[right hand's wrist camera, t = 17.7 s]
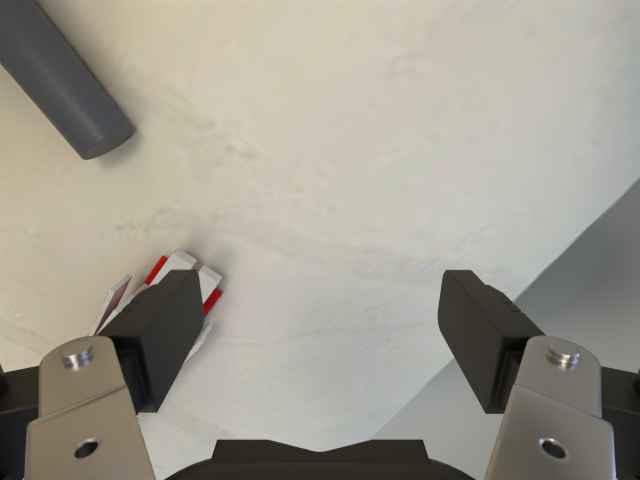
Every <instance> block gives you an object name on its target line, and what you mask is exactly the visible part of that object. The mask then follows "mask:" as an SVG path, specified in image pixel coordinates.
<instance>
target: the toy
mask: <svg viewBox="0 0 640 480" xmlns="http://www.w3.org/2000/svg"><path fill="white" fill-rule="evenodd" d="M196 262H197V260H196V259H195V258H193V257H192V256H190V255H189V254H187V253H186V252H184V251H183V250H181V249H179V248H178V249H177V250H175V251H174V252H173V253H172V254H171V256H170V257H169V259H168V258H166V257H164V256H162V257H161V259H160V260H159V261H158V263H157V264H156V266H155V267H154V269H153V270H152V272H151V273H150V275H149V276H148V277H147V279H146V280H145V282H144V283H143V285H142V286H141V287H139V288H138V289H137V290H136V291H135V292H134V293H133V294H131V295H130V296H129V297H128V298H127V299H126V300H125V301H123V302H122V303H121V304H120V305H119V306H118V307H117V305H118V303H119V301H120V299H121V297H122V295H123V293H124V291H125V289H126V287H127V285H128V283H129V281H130V280H131V278H132V276H130V275H127V276H126V277H124V278H123V279H122V280H121V281H120V282H119V283H118V284H116V285H115V286H114V287H113V288H112V289H111V290H110V291H109V293H108V295H107V297H106V299H105V301H104V303H103V305H102V308H101V310H100V312H99V314H98V316H97V318H96V320H95V322H94V324H93V326H92V328H91V330H90V332H89V334H88V336H96V335H97V334H98V333H99V332H100V331H101V330H102V329H103V328H104V327H105V326H106V325H107V324H108V323H109V322H110V321H111V320H112V319H113V318H114V317H115V316H116V315H117V314H118V313H119V312H122V309H123V308H124V307H125V306H126V305H127V304H130V301H131V300H132V299H133V298H134V297H135V296H136V295H137V294H138V293H139V292H141V291H143V290H144V289H146V288H148V287H150V286H152V285H153V284H158V283H159V282H160V281H161V279H162V278H163V277H164V276H165V275H166V274H167V273H168V272H169V271H170V270H172V269H192V267H193V266H194V264H195V263H196ZM198 274H199V279H200V286H201V294H202V301H203V308H204V317H205V316H206V315H207V313H208V312H209V311H210V309H211V308H212V306H213V305H214V304H215V302H216V301H217V299H218V298H219V297H220V295H221V294H222V292H221V291H219V290H218V289H216V286H217V285H218V284H219V282H220V280H221V278H222V276H220V275H219V274H217V273H216V272H214V271H213V270H211V269H210V268H208V267H207V266H205V265H204V266H203V267H202V268H201V269H200V271H199V272H198ZM116 307H117V308H116ZM211 327H212V325H211V324H210V323H209V324H208V325H207V326H206V327H205V328H204V329H203V330H202V331H201V333H200V334H199V336H198V338H197V340H196V341H195V343H194V345H193V347H192V349H191V351H190V353H189V354H188V356H187V358H186V360H185V362H186V361H187V360H188V359H189V358H190V357H191V356H192V355H193V354H194V353H195V352H196V351H197V349H198V348H199V347H200V346H201V345H202V344H203V343H204V341H205V339H206V337H207V335H208V333H209V331H210V329H211ZM185 362H184V364H185ZM184 364H183V365H184ZM183 365H182V366H183Z"/></svg>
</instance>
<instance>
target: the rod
mask: <svg viewBox="0 0 640 480" xmlns="http://www.w3.org/2000/svg"><path fill="white" fill-rule="evenodd" d="M0 63H1V64H2V65H3V67H4V68H5V69H6V70H7V71H8V72H9V74H10V75H11V76H12V77H13V78H14V79H15V81H16V82H17V83H18V84H19V85H20V86H21V88H22V89H23V90H24V91H25V92H26V93H27V95H28V96H29V97H30V98H31V99H32V101H33V102H34V103H35V104H36V105H37V106H38V108H39V109H40V110H41V111H42V112H43V113H44V115H45V116H46V117H47V118H48V119H49V120H50V122H51V123H52V124H53V125H54V126H55V127H56V129H57V130H58V131H59V132H60V133H61V134H62V136H63V137H64V138H65V139H66V140H67V141H68V143H69V144H70V145H71V146H72V147H73V148H74V150H75V151H76V152H77V153H78V154H79V155H80V157H81V158H82V159H84V160H88V159H93V158H96V157H99V156H101V155H103V154H105V153H107V152H109V151H111V150H113V149H115V148H116V147H118V146H119V145H121V144H122V143H124V142H125V141H126V140H128V139H129V138H130V137H131V136H132V135H133V133H134V131H135V130H134V128H133V127H132V126H131V124H130V123H129V122H128V121H127V119H126V118H125V117H124V115H123V114H122V113H121V112H120V110H119V109H118V108H117V106H116V105H115V104H114V103H113V101H112V100H111V99H110V97H109V96H108V95H107V94H106V92H105V91H104V90H103V88H102V87H101V86H100V85H99V83H98V82H97V81H96V79H95V78H94V77H93V76H92V74H91V73H90V72H89V70H88V69H87V68H86V67H85V65H84V64H83V63H82V62H81V60H80V59H79V58H78V56H77V55H76V54H75V53H74V51H73V50H72V49H71V47H70V46H69V45H68V44H67V42H66V41H65V40H64V38H63V37H62V36H61V35H60V33H59V32H58V31H57V29H56V28H55V27H54V26H53V24H52V23H51V22H50V20H49V19H48V18H47V17H46V15H45V14H44V13H43V11H42V10H41V9H40V8H39V6H38V5H37V4H36V2H35V1H34V0H0Z"/></svg>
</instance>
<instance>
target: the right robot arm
mask: <svg viewBox="0 0 640 480" xmlns="http://www.w3.org/2000/svg"><path fill="white" fill-rule="evenodd" d="M203 323H204V308H203V301H202V294H201V286H200V279H199V274H198V272H197V270H195V269H172V270H170V271H169V272H168V273H167V274H166V275H165V276H164V277H163V278H162V279H161V281H160V282H159V283H158V284H153V285H152V286H150V287H148V288H146V289H144V290H143V291H141V292H139V293H138V294H137V295H136V296H135V297H134V298H133V299H132V300H131V301H130V304H127V305H126V306H125V307H124V308H123V309H122V312H119V313H118V314H117V315H116V316H115V317H114V318H113V319H112V320H111V321H110V322H109V323H108V324H107V325H106V326H105V327H104V328H103V329H102V330H101V331H100V332H99V333H98V334H97V335H96V336H86V337H81V338H78V339H74V340H72V341H69V342H67V343H64V344H62V345H60V346H58V347H57V348H55V349H53V350H52V351H51V352H49V353H48V354H47V355H46V356H45V357H44V358H43V359H42V361H41V363H40V365H39V366H35V367H30V368H25V369H20V370H15V371H10V372H5V373H4V372H3V369H2V367H1V364H0V480H22V479H23V478H24V480H156V478H155V474H154V471H153V468H152V465H151V461H150V458H149V455H148V452H147V448H146V445H145V442H144V439H143V435H142V432H141V429H140V426H139V422H138V419H137V414H138V413H139V412H158V410H159V408H160V406H161V404H162V402H163V400H164V399H165V397H166V395H167V393H168V391H169V389H170V388H171V386H172V384H173V382H174V380H175V378H176V376H177V375H178V373H179V371H180V369H181V367H182V365H183V364H184V362H185V360H186V358H187V356H188V354H189V353H190V351H191V349H192V347H193V345H194V343H195V341H196V340H197V338H198V336H199V334H200V332H201V330H202V327H203ZM438 325H439V329H440V331H441V333H442V335H443V337H444V339H445V341H446V342H447V344H448V346H449V348H450V350H451V351H452V353H453V355H454V357H455V359H456V361H457V362H458V364H459V366H460V368H461V370H462V371H463V373H464V375H465V377H466V379H467V381H468V382H469V384H470V386H471V388H472V390H473V391H474V393H475V395H476V397H477V399H478V401H479V402H480V404H481V406H482V408H483V410H484V412H485V413H486V414H504V416H503V419H502V422H501V426H500V429H499V432H498V435H497V439H496V442H495V445H494V448H493V452H492V455H491V458H490V461H489V465H488V468H487V471H486V474H485V478H484V480H616V478H617V479H618V480H640V369H639V372H638V374H637V373H632V372H627V371H622V370H617V369H612V368H607V367H602V366H601V365H600V363H599V361H598V359H597V358H596V357H595V356H594V355H593V354H592V353H591V352H589V351H588V350H586V349H585V348H583V347H582V346H580V345H578V344H576V343H573V342H571V341H568V340H566V339H562V338H559V337H554V336H546V335H545V334H544V333H543V332H542V331H541V330H540V329H539V328H538V327H537V326H536V325H535V324H534V323H533V322H532V321H531V320H530V319H529V318H528V317H527V316H526V315H525V314H524V313H521V310H520V309H519V308H518V307H517V306H516V305H515V304H513V302H512V301H511V300H510V299H509V298H508V297H507V296H506V295H505V294H504V293H502V292H500V291H499V290H497V289H495V288H493V287H491V286H490V285H485V284H484V283H483V282H482V281H481V280H480V279H479V278H478V277H477V276H476V275H475V274H474V273H473V271H471V270H446V271H445V272H444V274H443V279H442V286H441V293H440V300H439V307H438ZM165 480H475V479H474V478H472V477H471V476H469V475H467V474H466V473H464V472H462V471H460V470H458V469H456V468H454V467H452V466H450V465H448V464H445V463H442V462H439V461H437V460H433V459H429V458H428V455H427V452H426V449H425V445H424V442H423V440H369V441H365V442H361V443H357V444H353V445H349V446H345V447H341V448H337V449H333V450H329V451H325V452H315V451H311V450H307V449H303V448H299V447H295V446H291V445H287V444H283V443H279V442H275V441H271V440H217V442H216V445H215V449H214V452H213V455H212V458H211V459H207V460H203V461H201V462H198V463H195V464H192V465H190V466H188V467H186V468H184V469H182V470H180V471H178V472H176V473H174V474H173V475H171V476H169V477H168V478H166V479H165Z"/></svg>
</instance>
